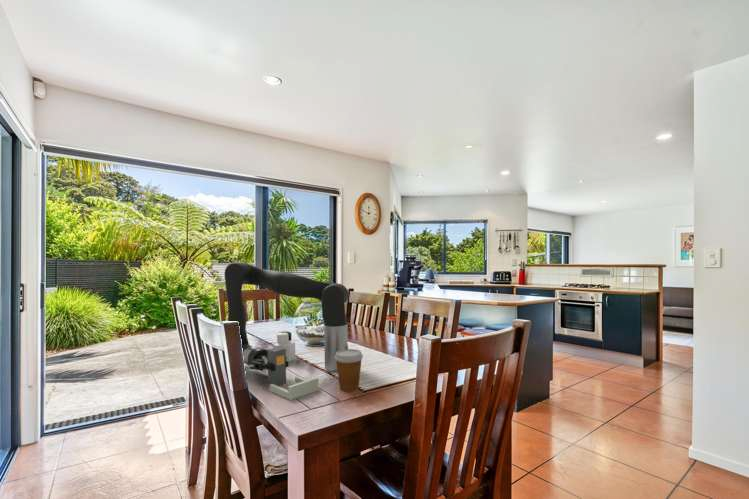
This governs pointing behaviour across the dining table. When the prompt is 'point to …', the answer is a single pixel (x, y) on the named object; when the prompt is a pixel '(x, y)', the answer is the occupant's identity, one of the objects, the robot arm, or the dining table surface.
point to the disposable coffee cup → (348, 369)
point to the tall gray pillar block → (277, 366)
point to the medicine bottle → (286, 344)
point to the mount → (297, 388)
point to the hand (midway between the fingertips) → (281, 366)
